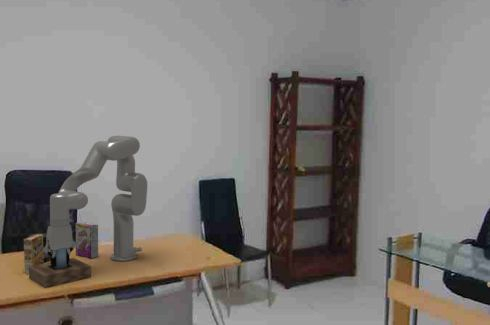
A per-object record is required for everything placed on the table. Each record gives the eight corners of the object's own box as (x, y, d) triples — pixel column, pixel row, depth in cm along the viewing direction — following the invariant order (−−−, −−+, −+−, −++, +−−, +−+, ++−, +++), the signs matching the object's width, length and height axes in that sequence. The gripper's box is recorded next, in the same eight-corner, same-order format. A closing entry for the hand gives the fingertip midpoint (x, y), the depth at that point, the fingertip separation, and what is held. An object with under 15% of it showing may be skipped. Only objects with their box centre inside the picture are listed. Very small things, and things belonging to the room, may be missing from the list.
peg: (63, 268, 214) (63, 245, 213) (68, 271, 210) (68, 248, 210) (52, 270, 210) (51, 247, 209) (57, 273, 207) (57, 250, 206)
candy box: (32, 273, 215) (32, 239, 213) (23, 273, 216) (23, 238, 214) (44, 267, 224) (43, 234, 222) (35, 267, 224) (35, 234, 223)
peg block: (73, 268, 223) (73, 257, 223) (91, 277, 212) (91, 265, 212) (28, 278, 209) (28, 266, 209) (45, 288, 198) (45, 275, 198)
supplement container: (26, 258, 237) (26, 234, 235) (50, 256, 241) (49, 232, 240) (28, 264, 227) (27, 239, 226) (52, 262, 232) (52, 237, 231)
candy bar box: (74, 255, 244) (74, 222, 242) (82, 253, 248) (82, 221, 246) (90, 259, 238) (90, 225, 237) (98, 256, 242) (98, 224, 241)
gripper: (74, 218, 217) (74, 258, 219) (35, 224, 205) (36, 266, 207) (82, 221, 212) (83, 262, 214) (43, 227, 200) (44, 270, 202)
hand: (60, 264), depth 210 cm, fingers closed on peg, 5 cm apart
